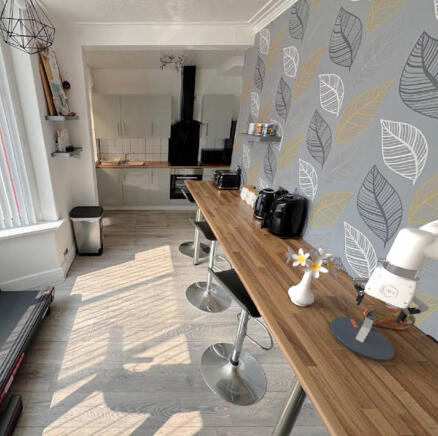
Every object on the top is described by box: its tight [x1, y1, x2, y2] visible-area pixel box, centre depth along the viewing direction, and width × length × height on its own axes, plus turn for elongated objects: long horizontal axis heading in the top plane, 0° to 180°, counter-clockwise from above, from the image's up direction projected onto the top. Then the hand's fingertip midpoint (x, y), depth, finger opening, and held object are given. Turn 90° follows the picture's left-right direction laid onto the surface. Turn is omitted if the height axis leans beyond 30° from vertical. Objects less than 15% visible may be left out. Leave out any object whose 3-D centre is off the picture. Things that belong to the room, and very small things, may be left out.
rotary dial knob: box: [330, 316, 395, 362], centre depth 80 cm, size 17×17×7 cm
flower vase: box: [285, 245, 343, 308], centre depth 94 cm, size 13×18×25 cm
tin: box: [362, 303, 416, 331], centre depth 88 cm, size 15×3×8 cm, turn 76°
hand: (377, 311), depth 77 cm, fingers open, 9 cm apart
